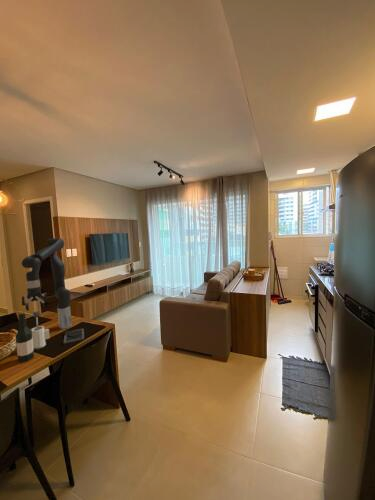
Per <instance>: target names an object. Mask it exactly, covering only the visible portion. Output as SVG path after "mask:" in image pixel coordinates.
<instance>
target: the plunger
mask: <svg viewBox="0 0 375 500" xmlns="http://www.w3.org/2000/svg"><path fill="white" fill-rule="evenodd" d="M40 313H41V312H40V311H34V312H32V316H33V318H35V321H36V322H35V323H36V324H35V325H36V327H37V328H36V329H34V330H40V329H42V328H41V327H40V328H38V326H39V320H38V317H39V316H40V315H41V314H40Z"/></svg>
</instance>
